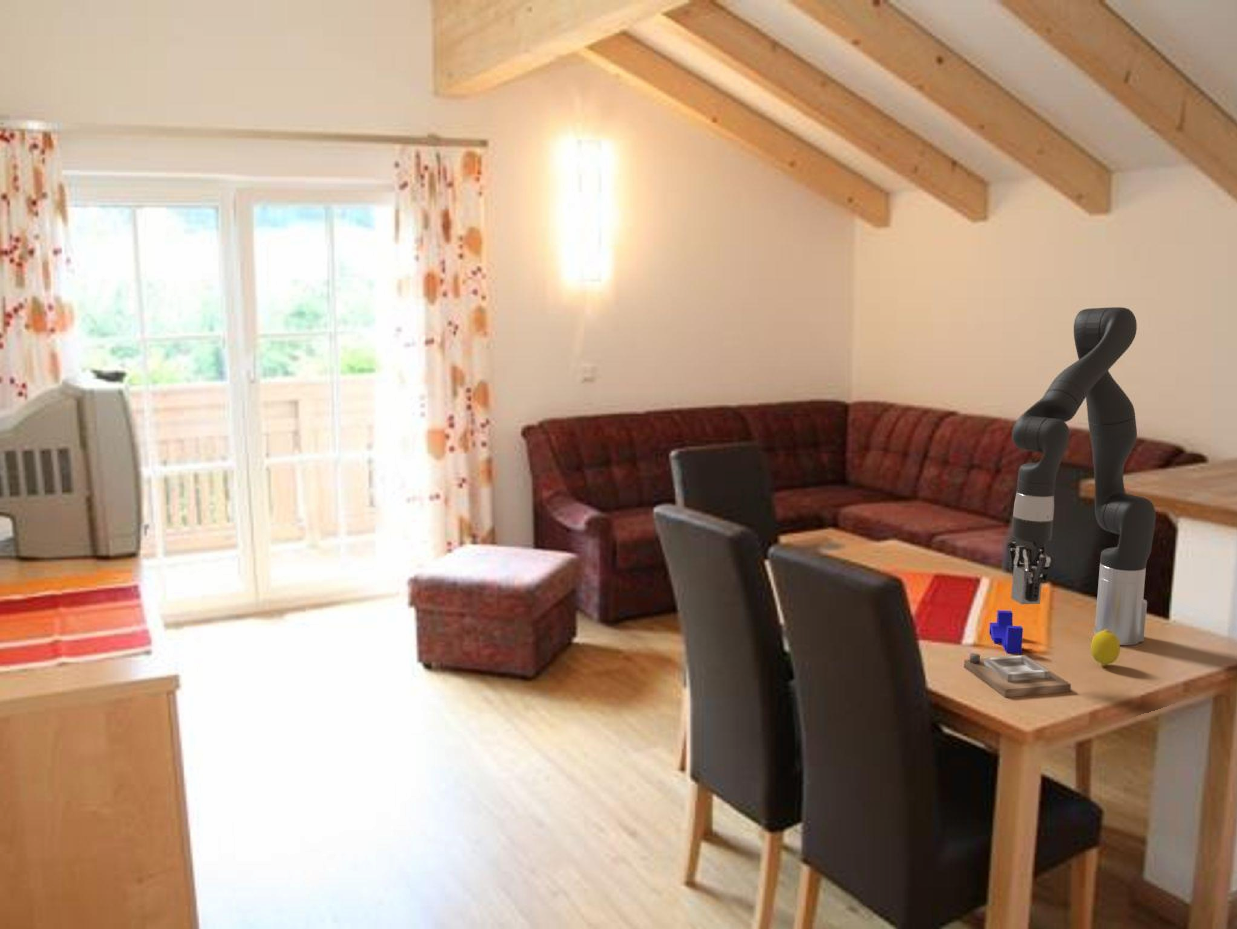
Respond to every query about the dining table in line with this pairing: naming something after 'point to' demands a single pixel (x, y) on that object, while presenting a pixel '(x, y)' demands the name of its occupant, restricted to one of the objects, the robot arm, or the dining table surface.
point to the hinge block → (1022, 585)
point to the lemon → (1105, 647)
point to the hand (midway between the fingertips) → (1025, 597)
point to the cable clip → (1007, 632)
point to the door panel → (1016, 675)
